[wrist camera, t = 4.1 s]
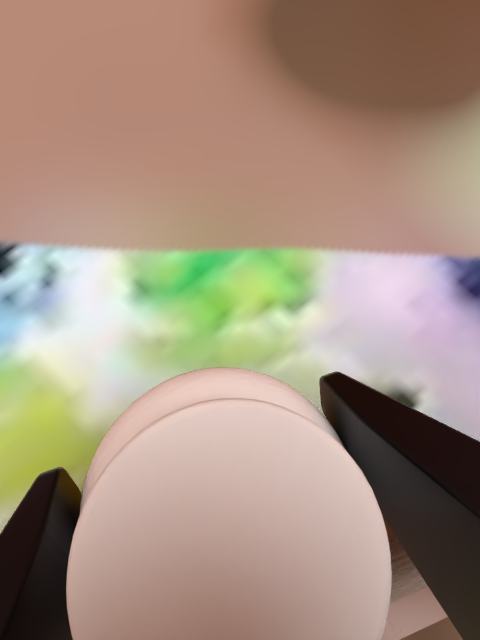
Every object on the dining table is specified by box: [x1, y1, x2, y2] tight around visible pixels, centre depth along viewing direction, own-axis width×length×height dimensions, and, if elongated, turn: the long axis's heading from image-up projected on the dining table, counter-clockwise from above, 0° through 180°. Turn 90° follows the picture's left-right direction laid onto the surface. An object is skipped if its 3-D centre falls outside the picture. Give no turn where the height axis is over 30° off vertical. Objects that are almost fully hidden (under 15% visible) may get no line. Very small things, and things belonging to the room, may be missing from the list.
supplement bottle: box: [66, 367, 392, 640], centre depth 9 cm, size 5×5×10 cm
